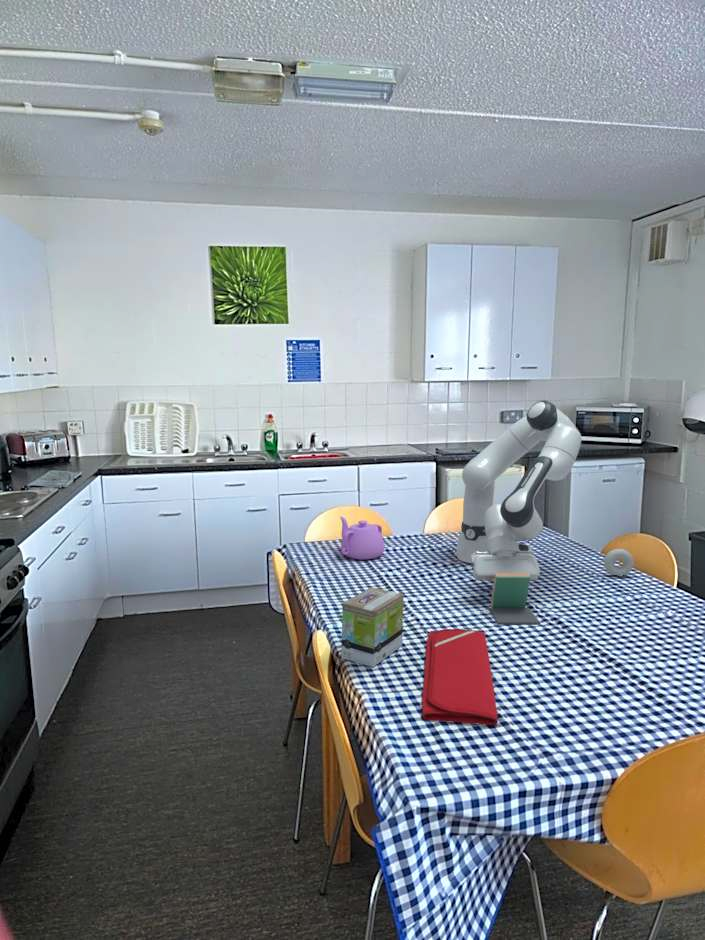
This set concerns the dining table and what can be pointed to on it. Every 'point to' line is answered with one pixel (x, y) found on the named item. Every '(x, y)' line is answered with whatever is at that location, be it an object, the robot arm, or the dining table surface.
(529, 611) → the mat
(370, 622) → the tea box
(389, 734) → the dining table surface
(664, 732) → the dining table surface
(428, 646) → the dish drying mat
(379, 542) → the teapot
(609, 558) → the donut
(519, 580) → the tile
